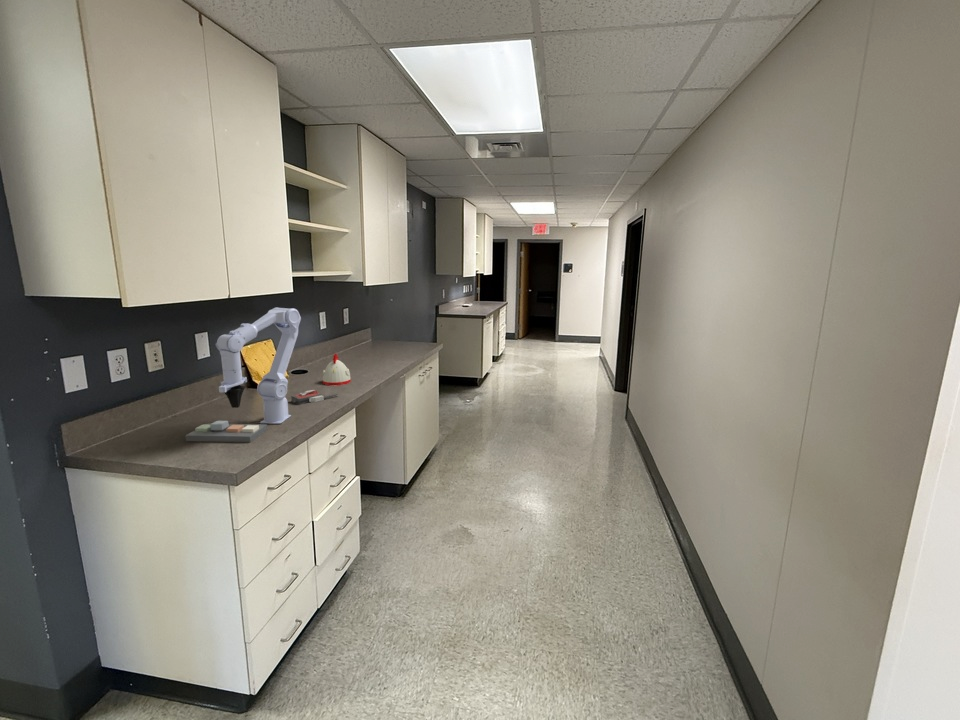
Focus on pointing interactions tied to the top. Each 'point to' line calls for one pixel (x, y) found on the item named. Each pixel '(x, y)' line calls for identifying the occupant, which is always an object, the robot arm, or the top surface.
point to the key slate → (219, 426)
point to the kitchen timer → (336, 373)
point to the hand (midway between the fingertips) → (235, 407)
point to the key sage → (203, 428)
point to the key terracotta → (235, 428)
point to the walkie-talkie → (309, 397)
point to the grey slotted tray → (226, 435)
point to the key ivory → (250, 428)
